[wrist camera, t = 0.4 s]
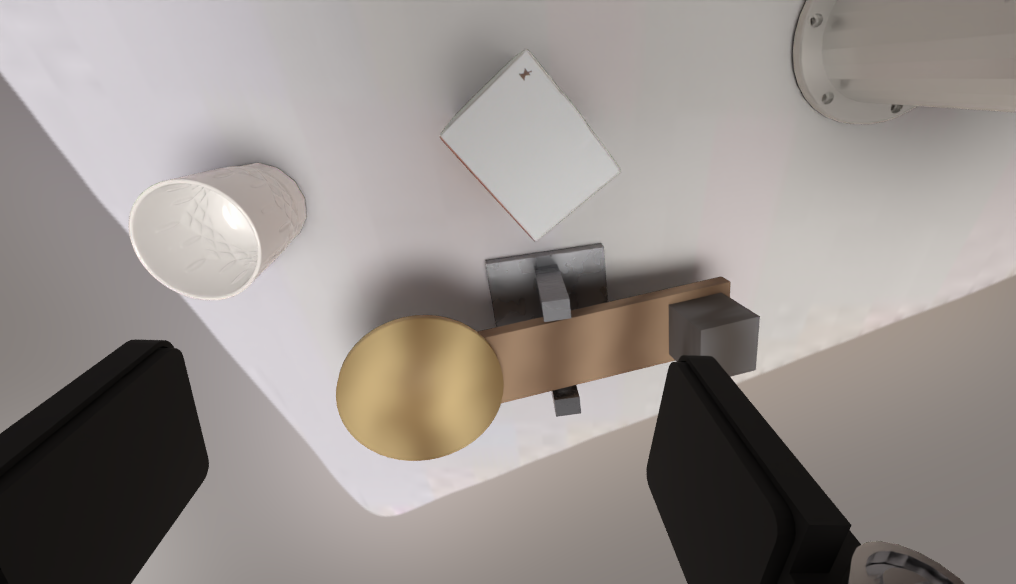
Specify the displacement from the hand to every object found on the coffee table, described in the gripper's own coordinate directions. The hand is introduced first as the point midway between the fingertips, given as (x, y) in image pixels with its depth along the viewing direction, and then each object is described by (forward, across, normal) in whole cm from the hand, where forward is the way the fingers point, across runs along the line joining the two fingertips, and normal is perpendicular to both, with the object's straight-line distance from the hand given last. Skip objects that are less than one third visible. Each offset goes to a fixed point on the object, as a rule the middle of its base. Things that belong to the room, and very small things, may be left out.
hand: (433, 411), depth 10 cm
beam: (+26, -6, +13) cm, 30 cm away
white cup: (+32, +17, +4) cm, 36 cm away
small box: (+32, -3, -3) cm, 32 cm away
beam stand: (+31, -7, +13) cm, 35 cm away
